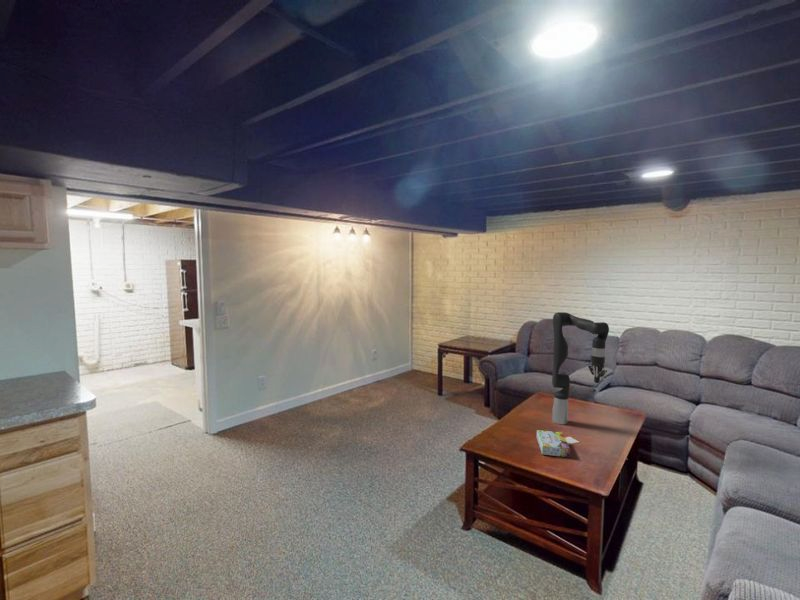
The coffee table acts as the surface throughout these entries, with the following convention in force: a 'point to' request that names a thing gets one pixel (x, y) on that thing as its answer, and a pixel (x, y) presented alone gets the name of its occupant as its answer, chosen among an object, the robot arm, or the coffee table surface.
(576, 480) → the coffee table surface
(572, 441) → the mat
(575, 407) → the coffee table surface
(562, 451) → the snack box
